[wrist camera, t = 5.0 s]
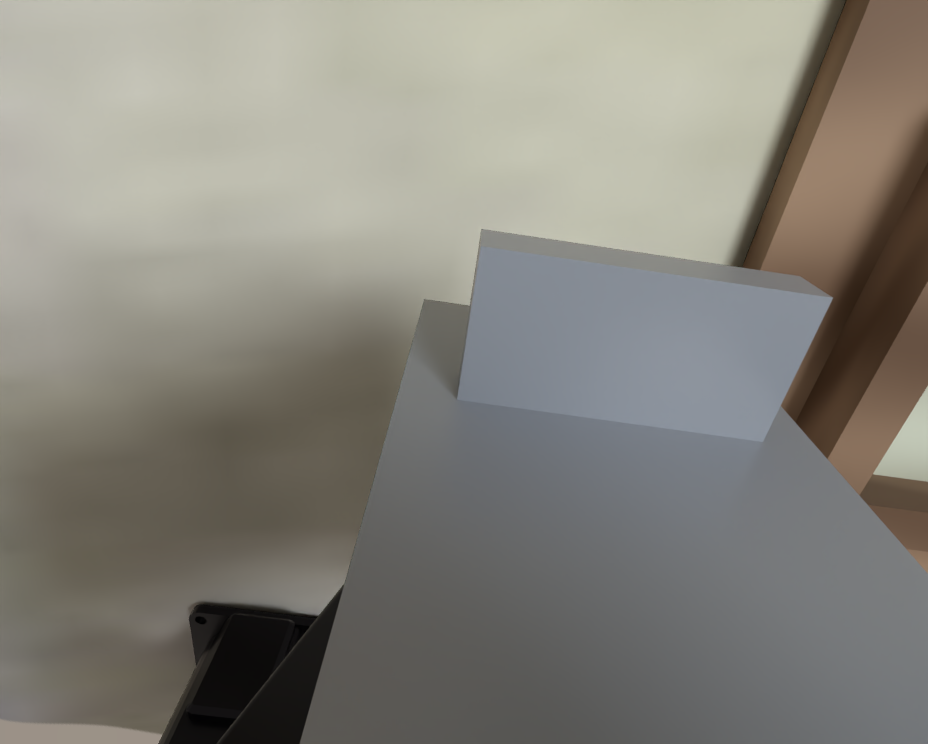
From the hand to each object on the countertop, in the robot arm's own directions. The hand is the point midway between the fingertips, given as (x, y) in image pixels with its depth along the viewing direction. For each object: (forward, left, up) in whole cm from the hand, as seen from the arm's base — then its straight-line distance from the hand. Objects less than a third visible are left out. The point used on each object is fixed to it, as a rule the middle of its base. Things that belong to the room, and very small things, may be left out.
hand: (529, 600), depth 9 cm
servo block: (0, 0, -2) cm, 2 cm away
